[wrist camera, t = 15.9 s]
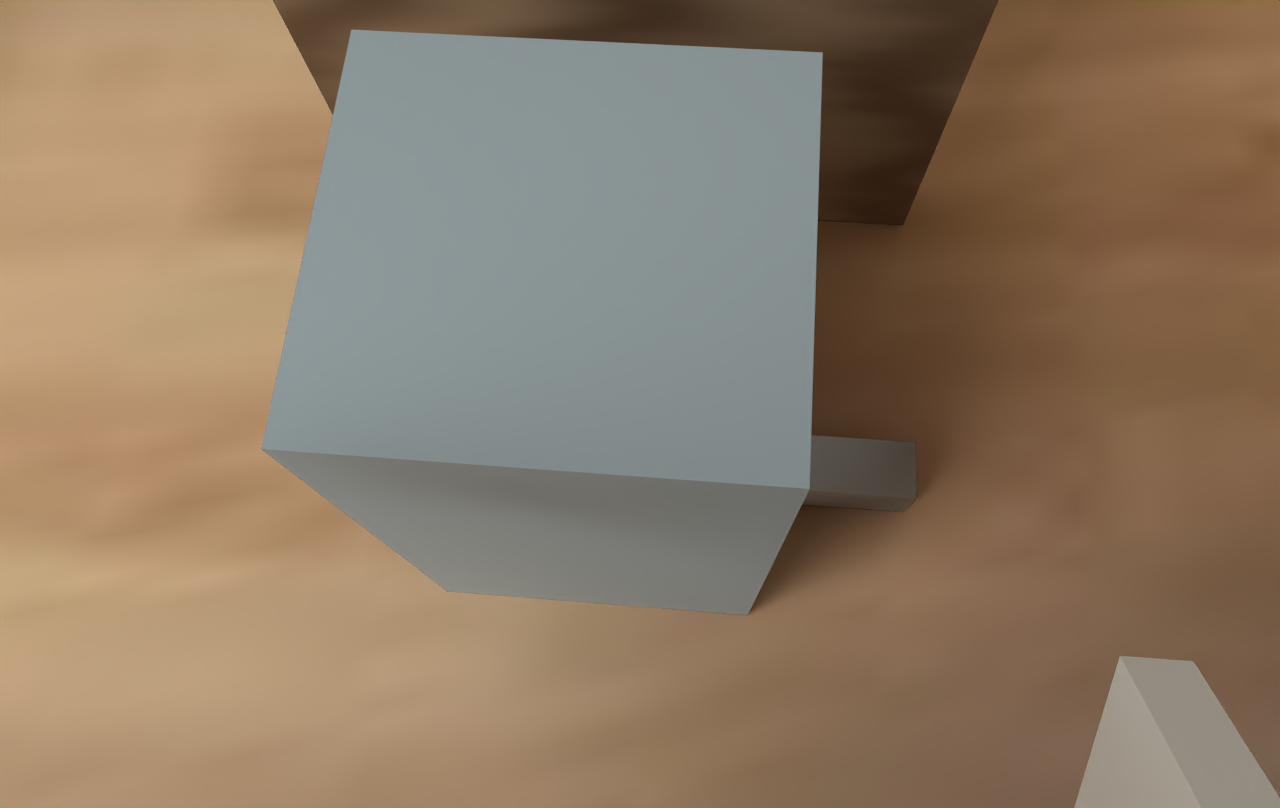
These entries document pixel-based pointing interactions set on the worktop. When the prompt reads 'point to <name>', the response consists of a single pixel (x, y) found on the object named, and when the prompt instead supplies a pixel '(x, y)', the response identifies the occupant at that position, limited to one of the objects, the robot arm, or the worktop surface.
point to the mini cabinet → (562, 314)
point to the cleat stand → (768, 20)
